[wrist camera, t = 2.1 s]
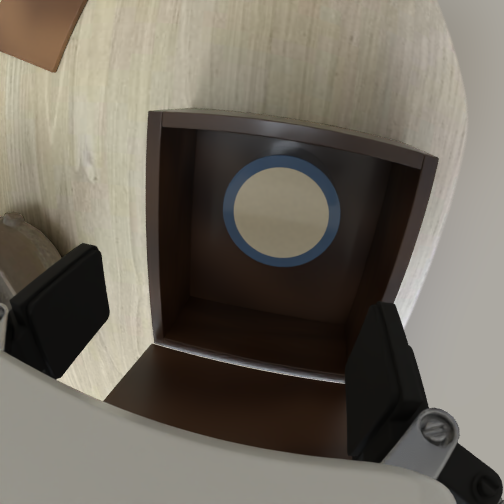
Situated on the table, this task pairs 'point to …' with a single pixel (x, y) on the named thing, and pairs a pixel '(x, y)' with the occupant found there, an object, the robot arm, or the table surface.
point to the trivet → (38, 29)
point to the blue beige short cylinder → (282, 207)
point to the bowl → (22, 255)
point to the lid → (236, 403)
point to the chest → (265, 276)
